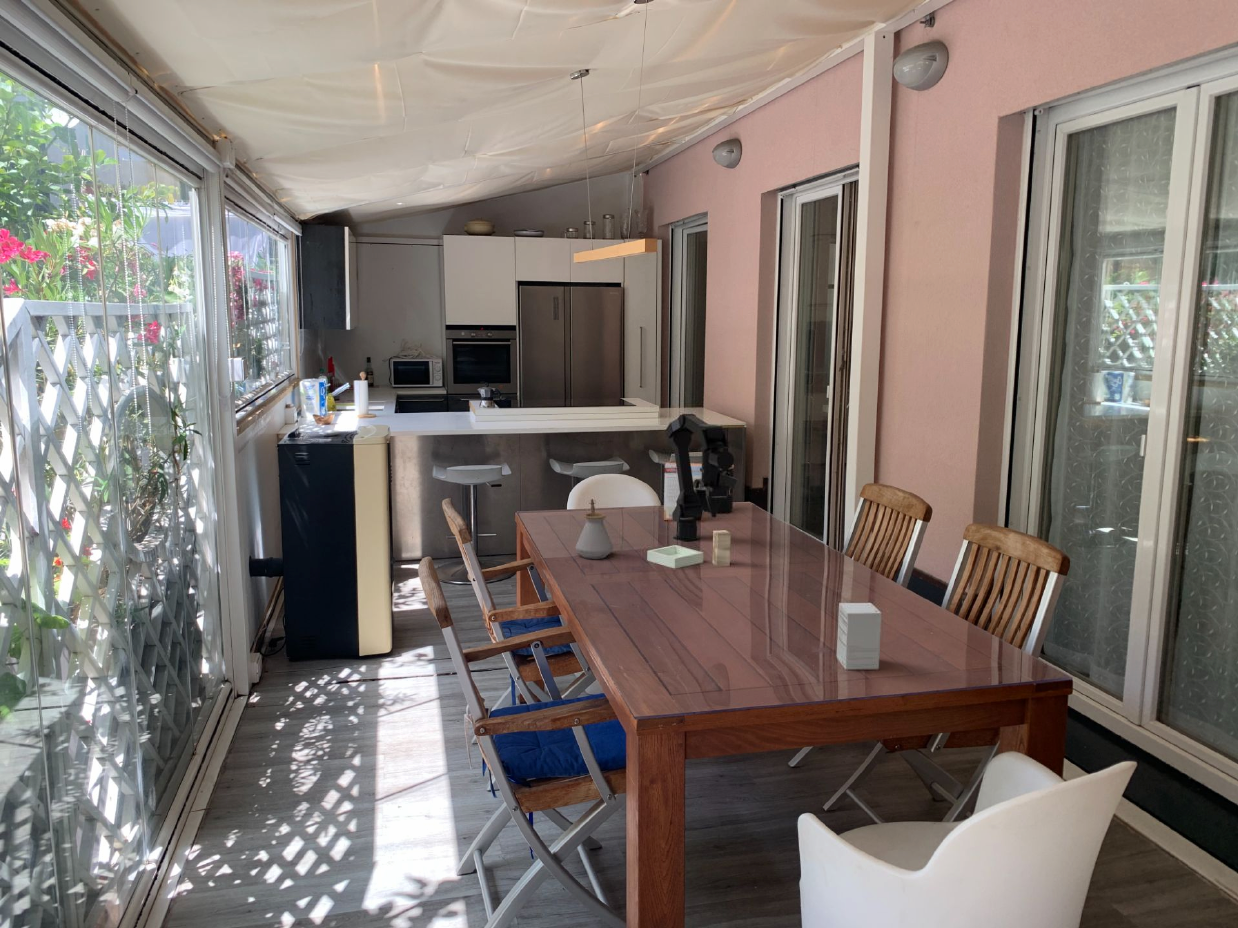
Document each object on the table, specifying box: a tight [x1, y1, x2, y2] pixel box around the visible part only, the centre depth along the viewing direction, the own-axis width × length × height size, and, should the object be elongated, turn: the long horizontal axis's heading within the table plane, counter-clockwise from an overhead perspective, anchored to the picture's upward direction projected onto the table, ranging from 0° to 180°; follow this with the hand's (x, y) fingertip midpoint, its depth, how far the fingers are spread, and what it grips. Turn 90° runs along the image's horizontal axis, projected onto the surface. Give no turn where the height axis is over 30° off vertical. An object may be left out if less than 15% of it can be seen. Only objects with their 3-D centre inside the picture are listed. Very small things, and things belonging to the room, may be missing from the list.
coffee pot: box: [575, 498, 614, 560], centre depth 294 cm, size 21×12×15 cm, turn 5°
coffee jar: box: [706, 464, 735, 515], centre depth 359 cm, size 11×11×18 cm
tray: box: [646, 544, 704, 569], centre depth 285 cm, size 12×12×3 cm
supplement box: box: [836, 602, 882, 671], centre depth 202 cm, size 7×7×13 cm
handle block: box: [712, 529, 731, 567], centre depth 282 cm, size 4×4×10 cm
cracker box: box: [663, 462, 703, 523], centre depth 343 cm, size 14×6×21 cm, turn 84°
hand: (709, 514), depth 297 cm, fingers open, 9 cm apart
